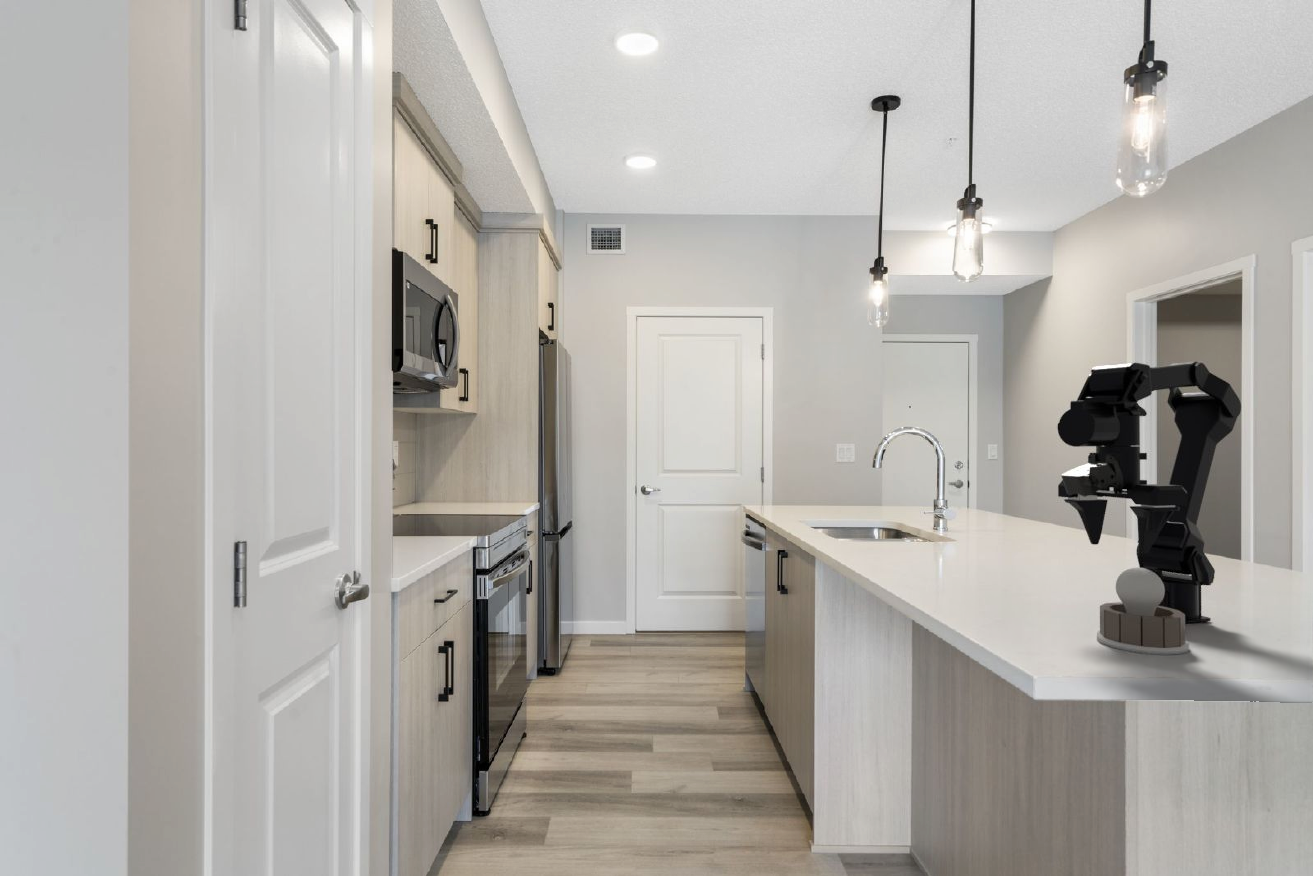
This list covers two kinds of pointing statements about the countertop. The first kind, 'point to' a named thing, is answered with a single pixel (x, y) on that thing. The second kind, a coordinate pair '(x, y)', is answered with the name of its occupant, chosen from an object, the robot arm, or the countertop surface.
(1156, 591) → the light bulb
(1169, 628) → the socket
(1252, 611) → the countertop surface
